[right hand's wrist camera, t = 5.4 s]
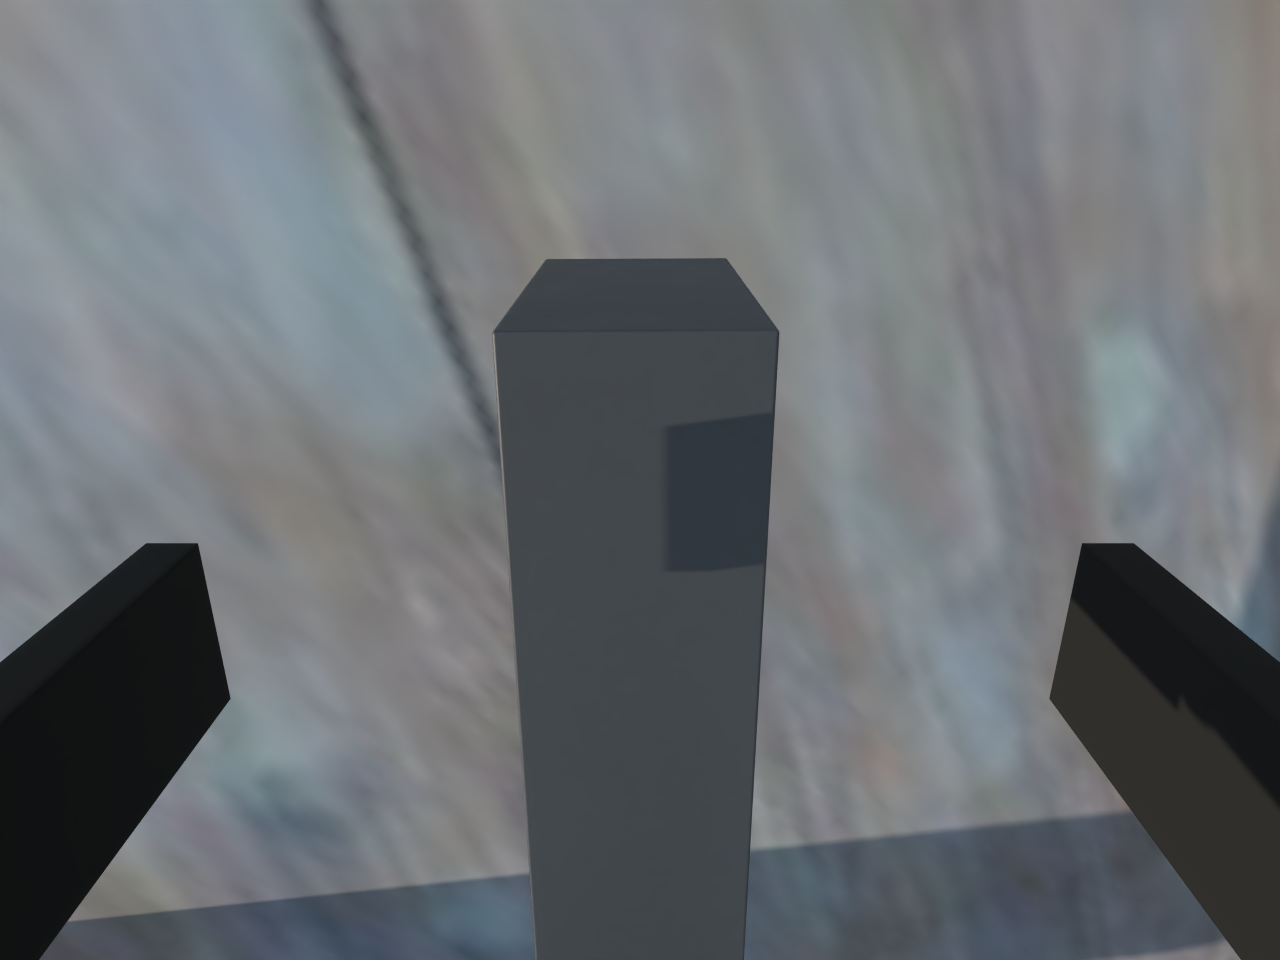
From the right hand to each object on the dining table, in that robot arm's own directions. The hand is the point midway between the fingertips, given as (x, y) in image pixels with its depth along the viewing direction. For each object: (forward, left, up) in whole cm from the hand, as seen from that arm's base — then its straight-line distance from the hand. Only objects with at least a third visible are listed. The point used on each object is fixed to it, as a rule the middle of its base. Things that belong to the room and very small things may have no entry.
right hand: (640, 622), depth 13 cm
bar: (+6, +6, -11) cm, 14 cm away
